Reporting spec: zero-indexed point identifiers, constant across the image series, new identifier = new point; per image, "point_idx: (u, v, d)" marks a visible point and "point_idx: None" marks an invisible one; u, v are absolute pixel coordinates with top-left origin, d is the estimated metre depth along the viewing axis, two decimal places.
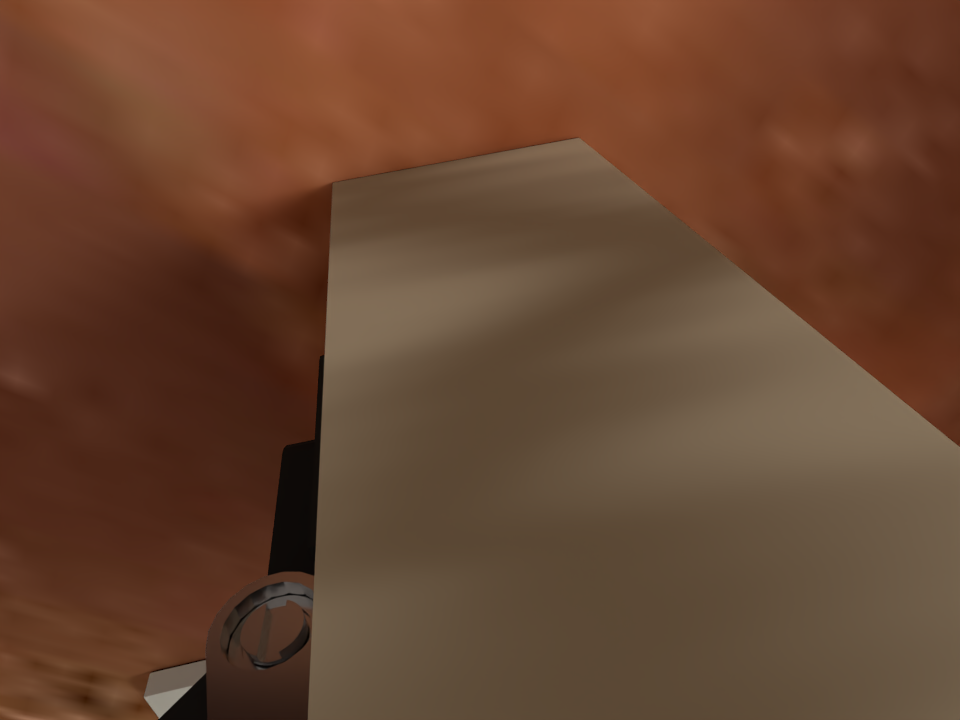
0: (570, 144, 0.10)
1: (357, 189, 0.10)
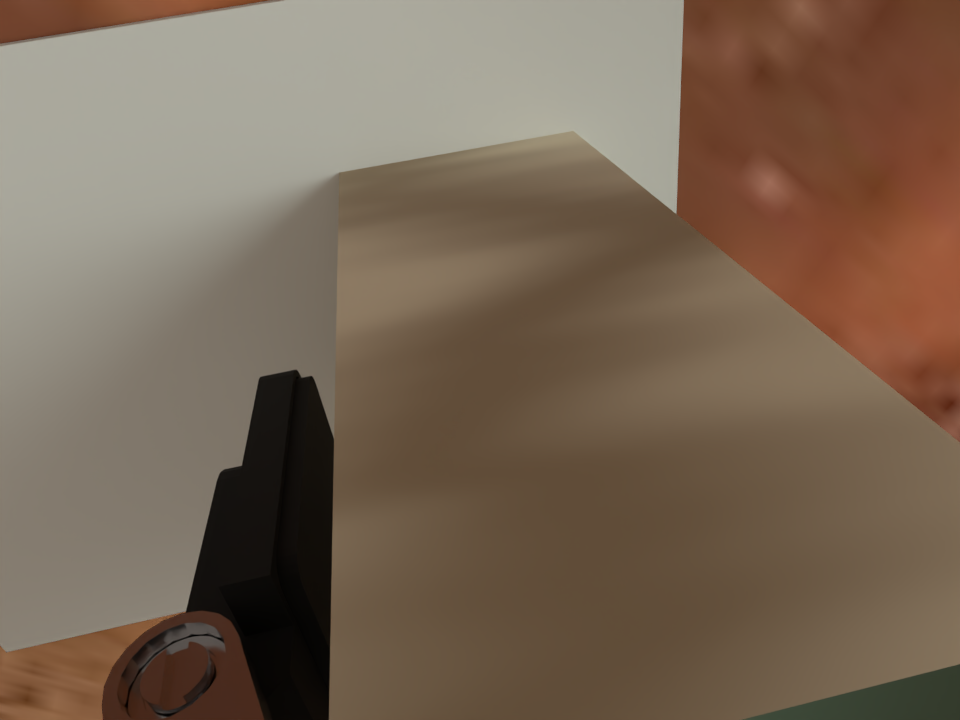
0: (565, 137, 0.11)
1: (362, 178, 0.10)
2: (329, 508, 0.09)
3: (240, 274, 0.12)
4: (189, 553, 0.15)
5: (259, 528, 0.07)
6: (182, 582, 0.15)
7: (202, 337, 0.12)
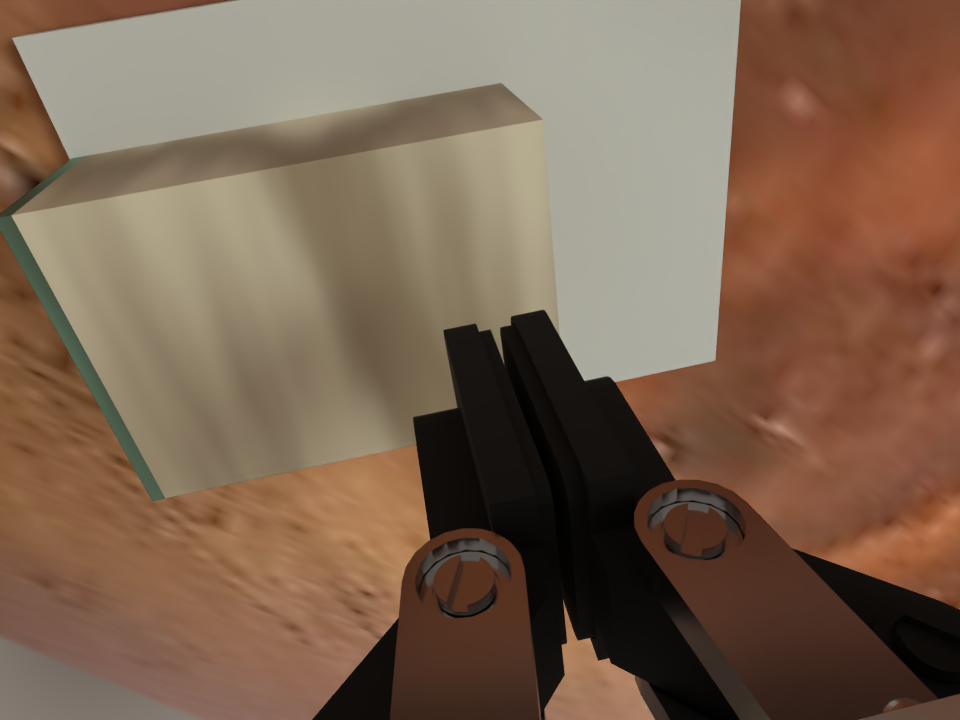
0: (525, 119, 0.13)
1: (480, 89, 0.15)
2: None
3: None
4: None
5: (506, 456, 0.07)
6: None
7: None
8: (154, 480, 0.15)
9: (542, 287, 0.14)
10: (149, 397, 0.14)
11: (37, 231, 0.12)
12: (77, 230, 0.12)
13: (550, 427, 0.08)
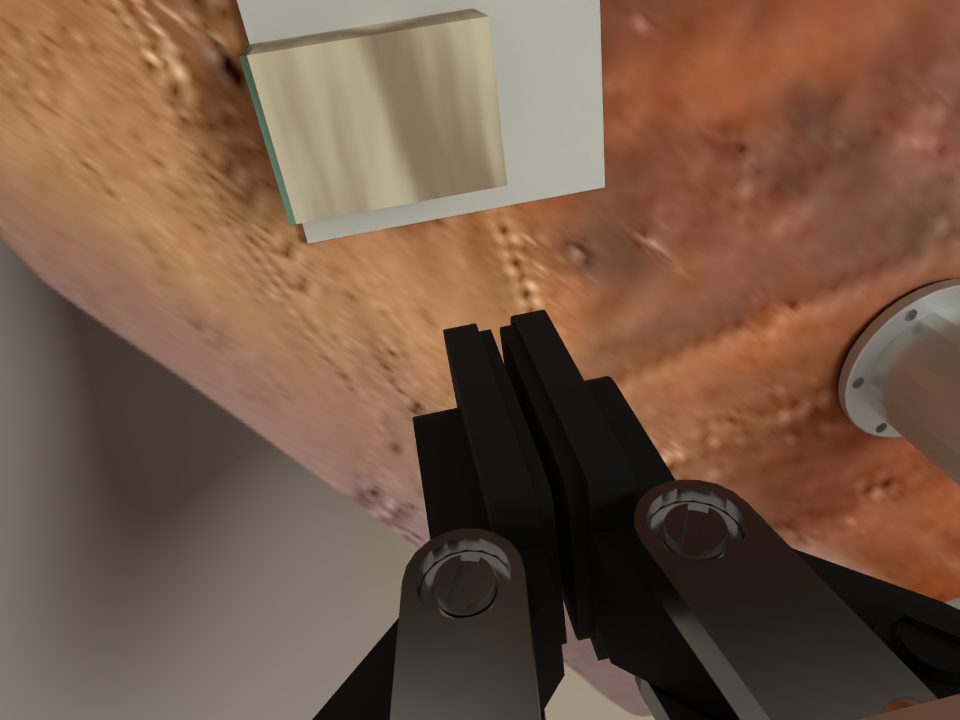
0: (481, 16, 0.27)
1: (461, 10, 0.30)
2: None
3: None
4: None
5: (506, 456, 0.07)
6: (387, 210, 0.34)
7: None
8: (292, 211, 0.29)
9: (492, 107, 0.28)
10: (295, 159, 0.28)
11: (256, 64, 0.26)
12: (274, 64, 0.26)
13: (550, 427, 0.08)
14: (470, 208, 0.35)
